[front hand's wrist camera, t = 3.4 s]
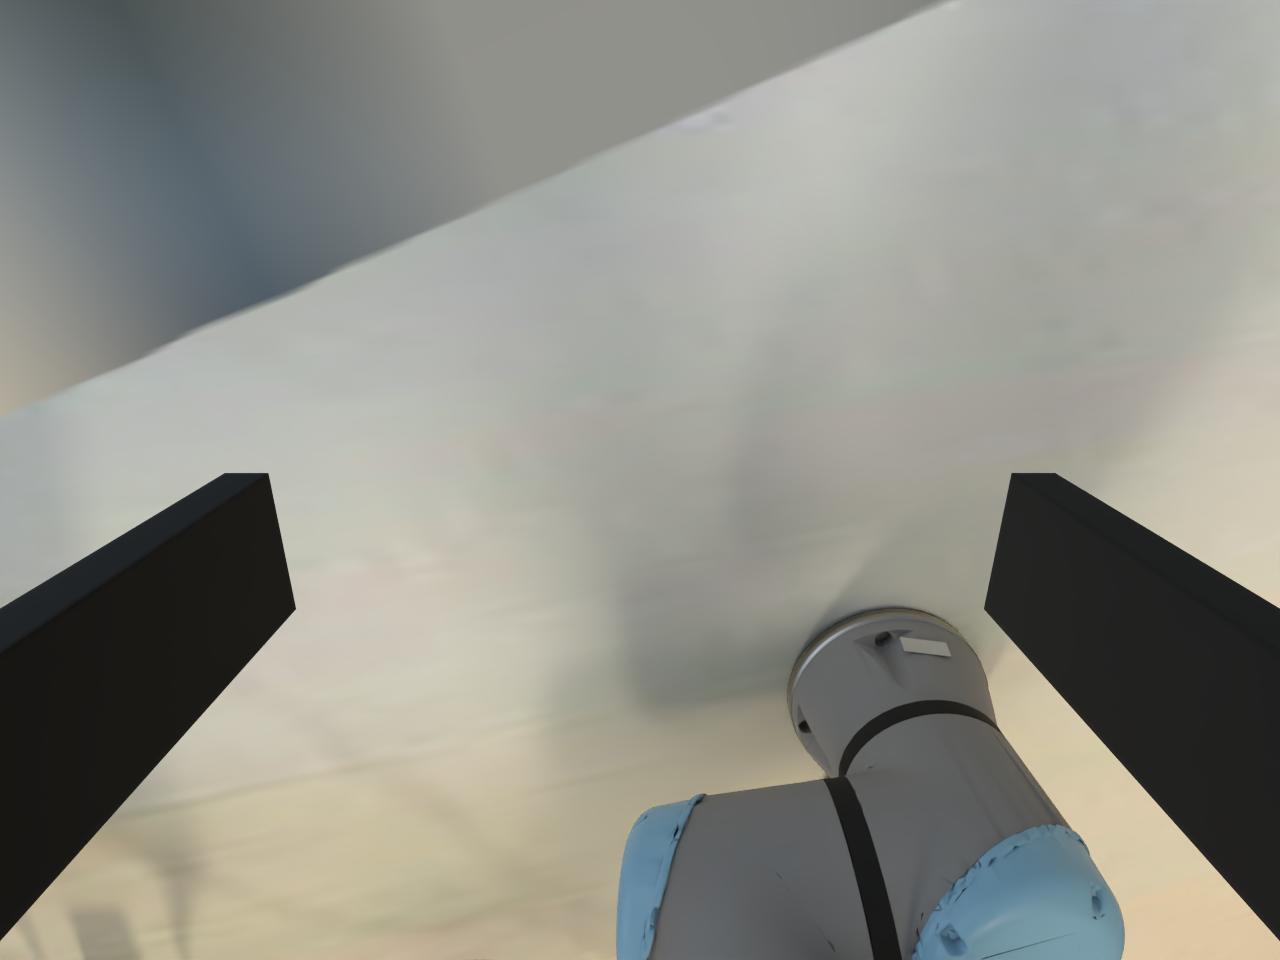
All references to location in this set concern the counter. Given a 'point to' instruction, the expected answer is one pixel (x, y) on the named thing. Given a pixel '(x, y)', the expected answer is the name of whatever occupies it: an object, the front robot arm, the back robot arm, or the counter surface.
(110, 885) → the counter surface
